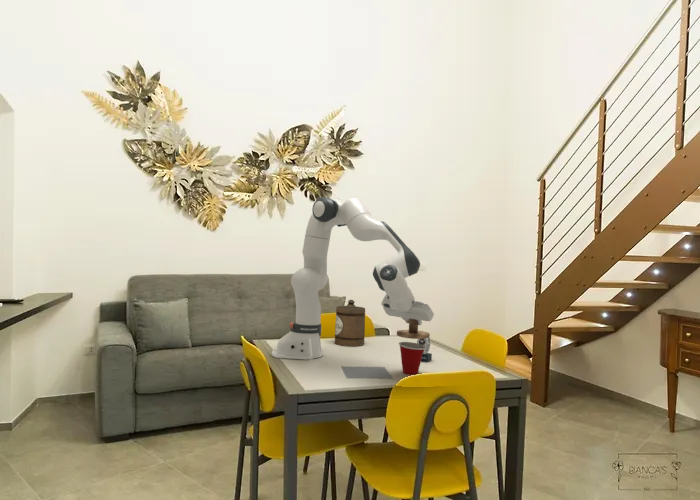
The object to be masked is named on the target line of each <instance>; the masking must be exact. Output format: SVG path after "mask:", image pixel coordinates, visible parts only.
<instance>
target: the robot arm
mask: <svg viewBox="0 0 700 500" xmlns="http://www.w3.org/2000/svg"><path fill="white" fill-rule="evenodd" d="M307 223H308V224H307V226H306V230H305V235H304V240H303V247H302V256H303V268H299V269H298V270H296V272H294V273H293V274H292V276H291V280H290V285H291V287H292V289H293V291H294V292H293V293H294V299H295V322H290V323H289V327H290V331H289V332H287V333H286V334H284V335H283V336H282V337H280V338H279V340H278V342H277V345H276V348H274V349H273V350H272V351H271V356H272V357H273V358H276V359H292V360H293V359H294V360H306V361H307V360H308V361H309V360H312V359H317V358H320V357H323V355H324V354H323V351H322V345H321V335H322V323H321V321H322V318H321V317H322V305H321V302H320V298H319V291H321V290H322V289H324V288H325V286H326V285H327V284H328V279H329V277H328V269H327V268H328V251H329V247H330V240H331V234H332V230H333V228H334V227H335V226H337V227H339V228H340V227H344V226H346V227H347V229H348V230H349V232H350V234H351V235H352V237H353V238H354V239H356V240H357V241H360V242H372V241H378V240H386V241H387V242H388V243H390V245H391V246H392V247H393V249H395V251H396V252H397V254H396V255H395V254H394V256H391V257H390V258H388V259H386V260H384V261H382V262H380V263H378V264H376V265H375V266H374V268H373V271H372V277H373V279H374V281H375V282H376V284H377V285H378V289H380V290H381V291H383V292H385V295H384V297H383V299H382V301H381V302H380V303H381V307H383V310H384V312H385V314H386V315H388V316H390V317H396V318H400V319H402V320H403V321H405V323H406V324H409V319H416V320H417V322H416V323H417V325H418V326H421V325H422V323H423V321H424V322H431V321H432V319H433V318H434V314H435V313H434V312H433V310H432V308H431V306H430V305H429V304H427V303H426V302H424V301H417V300H416V298H415V296H414V293H413V292H412V290H411V289H410V287H409V286H408V282H407V280H406V278H409V277H411V276H413V275H416V274H418V272H419V269H420V267H421V262H420V259H419V257H418V256H417V255H416V253H415V252H414V251H412V249H410V247H408V246H407V244H405V242H404V241H403V240H402V239H401V238H400V237H399V236H398V234H397V233H396V232H395V231H394V230H393V229H392V227H390V226H389V225H388V223H386V222H385V221H379V220H377V219H376V218H374V216H372V214H371V212H370V210H369V209H368V207H367V206H366V205H365V204H364V202H363V201H362V200H360V199H359V198H357V197H351V198H348V199H346V200H344V199H340V198H332V197H331V198H330V197H327V196H325V197H319V198H317V199H315V201H314V202H313V205H312V213H311V215H310V218H309V219H308V222H307Z"/></svg>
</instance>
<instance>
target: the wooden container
mask: <svg viewBox="0 0 700 500" xmlns="http://www.w3.org/2000/svg"><path fill="white" fill-rule="evenodd" d="M335 310H336V314H335V325H334V328H335V330H334V344H336V345H338V346H344V347H362V346H363V345H365V332H366V308H365V307H364V306H357V305H355V300H353V299H349V300H348V301H347V304H346V305H337V306H336V309H335Z"/></svg>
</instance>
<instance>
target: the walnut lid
mask: <svg viewBox="0 0 700 500" xmlns="http://www.w3.org/2000/svg"><path fill="white" fill-rule="evenodd" d="M416 322H417V320H416V319H409V323H408V329H401V330H397V331H396V336H398V337H400V338H403V339H411V340H412V339H413V340H416V339H417V340H418V339H425V338H429V337H430V336H431V334H430V332H427V331H424V330H419V325H417V323H416ZM430 338H431V337H430Z"/></svg>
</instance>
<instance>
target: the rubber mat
mask: <svg viewBox="0 0 700 500" xmlns="http://www.w3.org/2000/svg"><path fill="white" fill-rule="evenodd" d="M341 369H342V371H343V373H344V375H345V378H346V379H368V380H369V379H372V380H375V379H377V380H378V379H380V380H385V379H386V380H389V379H390V380H394V377H393V376H392V375H391V374H390V372H389V371H388V370H387V368H386V367H385V366H351V365H350V366H343V365H342V366H341Z"/></svg>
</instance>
